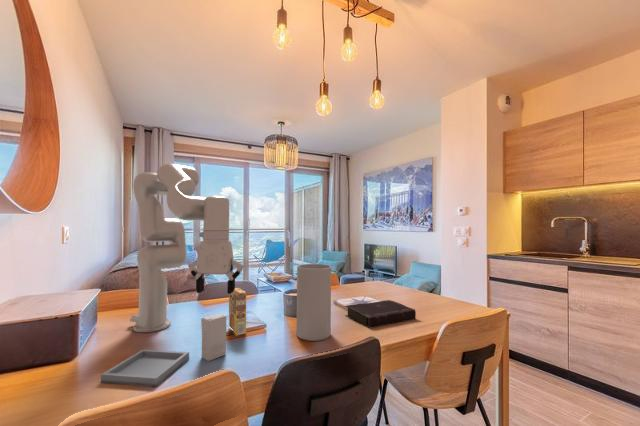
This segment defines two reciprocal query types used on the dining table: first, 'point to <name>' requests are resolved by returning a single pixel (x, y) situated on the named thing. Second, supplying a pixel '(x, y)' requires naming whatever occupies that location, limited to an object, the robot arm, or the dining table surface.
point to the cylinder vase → (313, 302)
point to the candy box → (237, 311)
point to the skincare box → (213, 336)
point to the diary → (380, 313)
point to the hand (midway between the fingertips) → (215, 292)
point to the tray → (145, 368)
